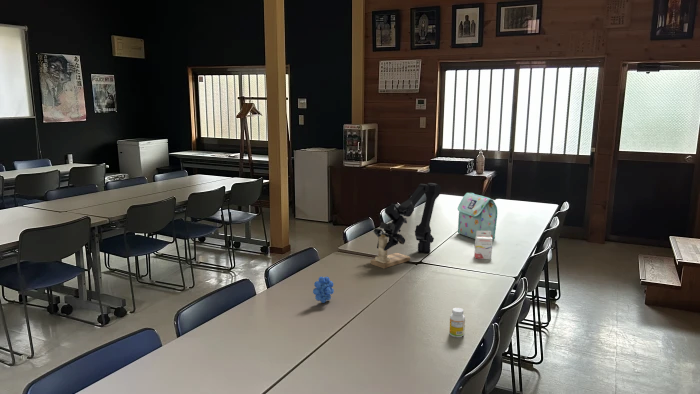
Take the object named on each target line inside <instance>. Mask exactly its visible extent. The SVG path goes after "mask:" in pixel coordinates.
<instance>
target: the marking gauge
mask: <svg viewBox="0 0 700 394" xmlns="http://www.w3.org/2000/svg"><path fill="white" fill-rule="evenodd" d="M378 238H379V249H378V251H377V252H378V255H376V256H375V257H374V259H375V261H378V262H381V263H386V262H389V261H390V257H387V255H388V250H386V251H385V250H384V248H385V246H386V245H387V243H388V237H386V236H385V234H381V236H380V237H378Z"/></svg>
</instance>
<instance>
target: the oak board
mask: <svg viewBox="0 0 700 394" xmlns="http://www.w3.org/2000/svg"><path fill="white" fill-rule="evenodd" d="M387 257H390V261H389V262H386V263H381V262H378V261H375V258H373V259H371V260H370V265H372V266H375V267H378V268H381V269H388V268H390V267H393V266H397V265H400V264H403V263H406V262H409V260H410V261H411V256H409V255H406V254H403V253H402V254H401V253H398V252H394V253H391V254H387Z"/></svg>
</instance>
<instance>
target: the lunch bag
mask: <svg viewBox="0 0 700 394" xmlns="http://www.w3.org/2000/svg"><path fill="white" fill-rule="evenodd" d="M457 211H458V222H457V223H458V224H457V233H458V234H460V235H462V236H465V237H468V238H470V239H473V240H475V238H476V231H491V237H492V239H493V240H496V228H497V220H498V207H497V204H496V203H495V201H494V199H492V198H490V197H487V196H483V195H479V194H475V193H474V192H466V193H465V194H464V196H462V198H461V201H460V202H459V204H458V207H457ZM481 234H486V233H484V232H483V233H481Z"/></svg>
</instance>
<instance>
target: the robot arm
mask: <svg viewBox="0 0 700 394" xmlns="http://www.w3.org/2000/svg"><path fill="white" fill-rule="evenodd" d="M441 190H442V187H441V185H440V184H439V183H433V182H428V183H426V184H425V183H420V184H418V186H417V188H416V189H415V191H414V192H413V193H412V194H411V195H410V197H409V198H408V199H407V200H405V201H402V202H401V204H399V205H398V206H396V204H394V203H391V204H390V205H388V206H387V207H385V209H384V213H385V215H386V216H387V217H388V218H389V219H390V220H391V222H388V223H387V222H383V221H382V222H381V223H380V225H379V228H378V227H377V228H374V230H373V231H372V232H373V234H375V235H376V236H377V238H378V240H377V245H376V248H377V249H378V250H379V237H380V236H381V234H385V236H386V237H387V238H388V240H387V245H386V246H385V248H384V250H385V251H386V250H387V251H388V250H389V249H391V248H393V247H394V246H396V245H399V244H400V245H404V244H405V243H406V238H405V237H404V235H402V233H401V228H402V227H403V225H404V224H408V221H407V218H406V217H408V218H409V217H411V216H412V215H413V213H414V211H415V207H416V205H417V203H418V202H419V201H420V200H421V199H422V198H423V196H424V195H425V198H426V199H425V204H424V207H423V212H422V215H421V220H420V223H419V224H417V225H416V226H415V230H414V236H415V239H416V241H418V243H417V251H418V252H417V253H420V254H431V244H432V243H433V242H434V240H435V238H434V236H433V235H432V234H431V233H432V229H431V226H430V224H431V220H432V215H433V211H434V207H435V203H436V200H437V199H438V197H439V196H440V194H441ZM400 233H401V234H400Z"/></svg>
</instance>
